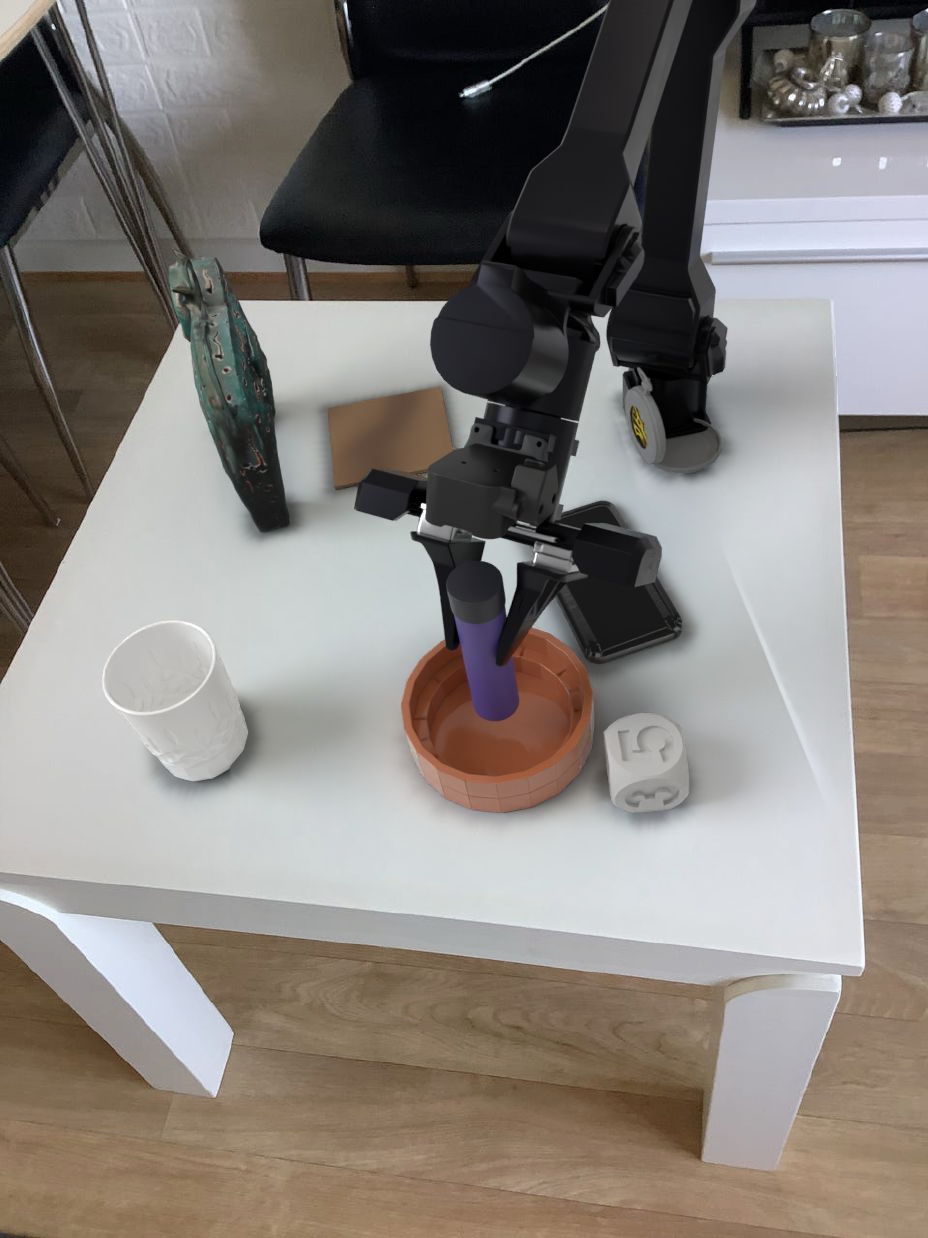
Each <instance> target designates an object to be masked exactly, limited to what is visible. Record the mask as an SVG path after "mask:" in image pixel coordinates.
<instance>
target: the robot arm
mask: <svg viewBox="0 0 928 1238" xmlns="http://www.w3.org/2000/svg"><path fill="white" fill-rule="evenodd" d="M756 5H757V0H608V3H607V7H606V10H605V12H604V16H603V19H602V22H601V24H600V28H599V31H598V33H597V37H596V40H595V43H594V46H593V49H592V51H591V55H590V58H589V61H588V64H587V67H586V70H585V73H584V76H583V79H582V82H581V85H580V89H579V91H578V95H577V97H576V101H575V103H574V107H573V110H572V112H571V115H570V117H569V118H570V119H569V122H568V125H567V127H566V130H565V133H564V135H563V137H562V140H561V142H560V144H559V146H557V147H556V148H555V149H554V150H553V151H552V152H551V153H549V155H547V156H546V157H544V158H543V159H542V160H541V161H540V162H539V163H538V164H536V165H535V166H534V167H533V168H532V169H531V170H530V172H529V173H528V176H527V177H526V180H525V182H524V185H523V188H522V190H521V192H520V194H519V197H518V198H517V201H516V204H515V206H514V208H513V210H512V211H510V213H509V214H508V215H507V216H506V218H505V220H504V222H503V223H502V225H501V227H500V228H499V230H498V232H497V234H496V235H495V237H494V238H493V240H492V242H491V244H490V246H489V247H488V249H487V251H486V253H485V254H484V256H483V257H482V259H481V261H480V263H479V264H478V266H477V267H476V270H475V271H474V273H473V275H472V277H471V279H470V280H469V285H468V286H465V287H464V288H461V289H460V290H459V291H457V292H456V293H455V294H453V295H452V296H450V298H449V299H448V300H446V302H445V304H443V306H442V307H441V309H440V310H439V313H438V315H437V316H436V317H435V318H434V319H433V322H432V326H431V330H430V338H429V340H430V341H429V347H430V354H431V359H432V362H433V364H434V367H435V370H436V371H437V373H438V374H439V376H440V377H441V378H442V380H443V381H444V382H445V383H446V384H448V385H449V386H450V387H451V388H452V389H454V390H457V391H458V392H461V393H462V394H465V395H470V396H472V397H477V398H480V399H484V400H486V401H487V402H486V404H485V409H484V412H483V413H484V414H483V417H478V416H475V417H474V421H473V422H474V423H473V424H472V425H471V427H470V431H469V436H468V439H467V440H466V442H465V444H464V445H463V447H461V448H455V449H453V451H452V452H450V453H449V454H447V455H445V456H444V457H442V458H441V459H439V460H437V461H436V462H434V463H433V464H431V465H430V466H429V467H428V472H427V476H424V475H420V474H412V473H409V472H405V471H395V470H384V469H372V470H370V471H369V472H368V473H367V474H366V475H365V476H364V477H363V479H362V480H361V482H360V483H359V485H357V490H356V495H355V500H354V505H353V510H355V511H356V512H359V513H363V514H367V515H369V516H373V517H376V518H381V519H385V520H388V521H391V522H397V521H398V520H400V519H402V518H403V517H405V516H406V515H409V516H413V517H417V518H418V522H417V526H416V530H412V531H409V533H410V538H411V540H412V541H414V542H417V543H419V544H421V545H422V546H423V549H424V550H425V552H426V553H427V555H428V557H429V558H430V560H431V562H432V565H433V569H434V573H435V577H436V581H437V582H436V583H437V586H438V593H439V601H440V610H441V618H442V626H443V635H444V639H445V644H446V649H447V650H450V651H453V650H456V649H457V648H458V647H459V644H460V640H459V636H458V631H457V626H456V621H455V617H454V614H453V612H452V610H451V606H450V601H449V597H448V592H447V587H446V583H447V579H448V576H449V575H450V573H451V572H452V571H453V570H454V569H455V568H456V567H458V566H459V565H461V564H463V563H466V562H470V561H483V556H484V551H485V547H486V543H487V541H486V540H497V539H504V540H507V541H510V542H514V543H518V544H522V545H525V546H529V547H530V546H532V547H534V549H533V551H532V553H533V556H532V557H533V558H532V560H526V561H517V562H516V586H515V591H514V594H513V596H512V599H511V603H510V606H509V609H508V612H507V614H506V615H507V619H506V622H505V625H504V628H503V631H502V634H501V638H500V641H499V645H498V650H497V656H496V662H495V664H496V665H497V666H500V667H501V666H504V665H506V664H507V663H508V661H509V660H510V658H511V657H512V655H513V654H514V653H515V651H516V650H517V648H518V647H519V645H520V644H521V642H522V641H523V639H524V638H525V637H526V635H527V634H528V632H529V631H530V629H531V628H533V626H534V625H535V624H536V622H537V621H538V619H539V618H540V616H541V615H542V614H543V612H544V611H545V610H546V608H547V607H548V606H549V604H551V602H552V601H553V600H554V599H556V598H555V596H556V595H557V594H558V593H559V592H560V591H561V590H562V588H563V587H564V586H565V585H566V584H567V583H568V582H570V581H575V580H580V579H586V578H588V575H589V576H592V577H596V578H599V579H603V580H606V581H610V582H614V583H617V584H621V585H625V586H631V587H637V586H641V585H645V584H649V583H653V582H655V580H656V576H657V577H658V572H659V568H660V564H661V561H662V557H663V547H662V545H661V543H660V541H659V539H658V537H657V536H656V535H652V534H648V533H645V532H641V531H638V530H637V531H636V530H633V529H629V528H628V529H625V528H622V527H618V526H614V525H610V524H606V523H585V524H584V525H583V527H582V528H581V529H579V528H575V527H571V526H568V525H564V524H560V523H556V522H555V520H560V519H561V515H562V512H564V511H563V510H564V506H565V505H564V504H562V503H560V502H561V498H562V493H563V489H564V486H565V482H566V477H567V472H568V470H569V465H570V460H571V457H577V453H578V449H579V445H580V440H578V439H576V436H577V432H578V428H579V422H580V418H581V414H582V411H583V406H584V402H585V398H586V395H587V391H588V390H587V389H588V385H589V381H590V377H591V373H592V370H593V365H594V361H595V357H596V353H597V352H598V351H600V348H601V335H600V332H599V331H598V329H597V328H596V326H595V324H594V322H593V318H592V317H598V318H603V319H604V318H605V317H606V316H607V315H608V314H609V315H608V318H607V323H606V330H605V331H606V333H605V336H606V344H607V347H608V351H609V355H610V360H611V364H612V366H613V367H616V368H620V367H622V368H628V370H625V371H623V373H622V375H621V376H622V409H623V412H624V415H625V416H626V410H625V398H626V394H627V392H628V390H630V389H632V388H633V387H635V386H642V384H641V383H642V379H641V377H640V375H639V373H638V370H637V368H638V367H639V368H641V370H642V371H643V372H644V374H645V375H646V377H647V378H649V379H650V382H651V384H652V391H650V395H651V396H652V397H653V399H654V401H655V403H656V405H657V407H658V409H659V412H660V415H661V418H662V421H663V425H664V430H665V437H666V439H668V438H674V437H679V436H684V435H689V434H695V433H700V432H703V431H706V430H707V429H708V427H707V426H704V425H703V424H701V423H698V422H694V419H695V418H696V419H700V420H703V421H705V422H707V423H709V424H711V425H712V422H711V419H710V417H709V414H708V413H707V411H706V410H707V399H708V398H707V397H708V385H709V383H710V382H711V379H712V377H713V376H716V375H718V374H721V373H724V371H725V368H726V362H727V361H726V360H727V346H728V340H727V335H728V326H727V325H726V324H725V323H724V322H722V321H721V320H720V319H719V318H718V317H714V313H715V303H716V294H717V288H716V285H715V283H714V282H713V280H712V277H711V276H710V273H709V271H708V269H707V267H706V265H705V263H704V261H703V259H702V257H701V251H702V241H703V233H704V226H705V218H706V210H707V204H708V203H707V202H708V195H709V187H710V179H711V173H712V171H711V170H712V164H713V163H712V162H713V154H714V146H715V141H716V139H715V138H716V132H717V123H718V116H719V110H720V109H719V108H720V99H721V92H722V84H723V77H724V70H725V69H724V68H725V62H726V54H727V48H728V46H729V44H730V43H731V42H732V40H733V39H734V37H735V36H736V35H737V33H738V31H739V30H740V28H741V27H742V26H743V25H744V23H745V22H746V20H747V19H748V17H749V15H750V13H751V12H752V11H753V10H754V8H755V6H756ZM649 137H650V144H649V153H648V154H649V155H648V165H647V175H646V177H647V178H646V185H645V186H646V187H645V196H644V197H645V199H644V207H643V208H644V210H643V220H642V215H641V212H640V208H639V204H638V201H637V196H636V192H635V189H634V188H635V187H634V186H635V182H636V180H637V179H636V178H637V175H638V172H639V171H638V170H639V167H640V165H641V161H642V158H643V155H644V152H645V148H646V145H647V142H648V139H649ZM644 379H645V378H644ZM643 424H644V423H643ZM530 524H531V525H535V526H536V527H534V526H530Z"/></svg>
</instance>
